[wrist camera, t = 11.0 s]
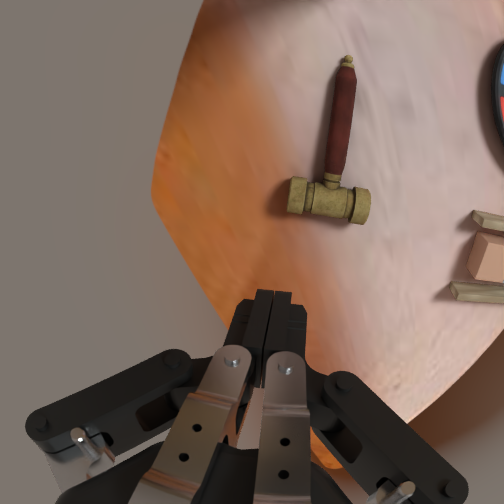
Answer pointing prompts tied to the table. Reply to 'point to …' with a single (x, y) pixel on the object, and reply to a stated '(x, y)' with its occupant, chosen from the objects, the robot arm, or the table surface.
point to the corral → (481, 291)
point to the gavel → (334, 163)
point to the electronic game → (498, 92)
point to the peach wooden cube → (487, 258)
